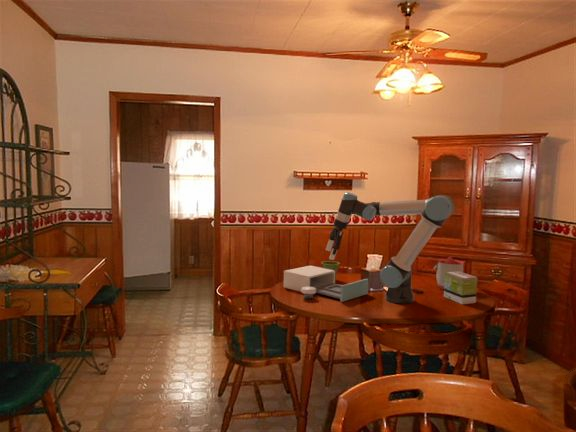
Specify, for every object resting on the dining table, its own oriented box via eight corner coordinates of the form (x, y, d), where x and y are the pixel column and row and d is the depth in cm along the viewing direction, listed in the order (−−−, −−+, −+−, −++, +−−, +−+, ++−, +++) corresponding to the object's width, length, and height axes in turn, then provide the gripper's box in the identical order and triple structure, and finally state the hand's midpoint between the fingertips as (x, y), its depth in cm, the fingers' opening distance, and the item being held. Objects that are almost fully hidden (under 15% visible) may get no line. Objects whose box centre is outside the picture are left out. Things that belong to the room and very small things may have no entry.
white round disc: (318, 292, 246) (319, 288, 246) (309, 294, 240) (309, 291, 240) (307, 289, 251) (308, 285, 251) (298, 291, 246) (298, 288, 246)
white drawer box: (334, 286, 273) (335, 270, 272) (308, 293, 255) (309, 276, 254) (309, 280, 286) (310, 265, 285) (283, 287, 269) (283, 270, 268)
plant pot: (340, 282, 284) (340, 264, 283) (321, 281, 284) (321, 264, 283) (338, 278, 296) (338, 261, 295) (320, 277, 296) (320, 260, 295)
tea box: (442, 297, 254) (444, 271, 253) (457, 296, 258) (458, 270, 256) (461, 304, 240) (463, 277, 239) (476, 303, 244) (478, 276, 242)
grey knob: (314, 298, 246) (315, 292, 246) (308, 300, 243) (309, 293, 242) (308, 296, 250) (308, 290, 249) (302, 298, 246) (302, 292, 246)
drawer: (367, 293, 256) (368, 278, 256) (342, 301, 239) (342, 286, 238) (334, 285, 273) (335, 272, 272) (308, 293, 255) (308, 278, 254)
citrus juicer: (432, 284, 285) (434, 253, 283) (462, 287, 279) (464, 255, 277) (431, 289, 270) (433, 257, 268) (462, 293, 264) (464, 259, 262)
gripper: (332, 212, 257) (320, 245, 263) (339, 224, 233) (326, 261, 239) (344, 215, 258) (332, 248, 264) (352, 228, 234) (339, 265, 240)
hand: (329, 254), depth 251 cm, fingers open, 13 cm apart
